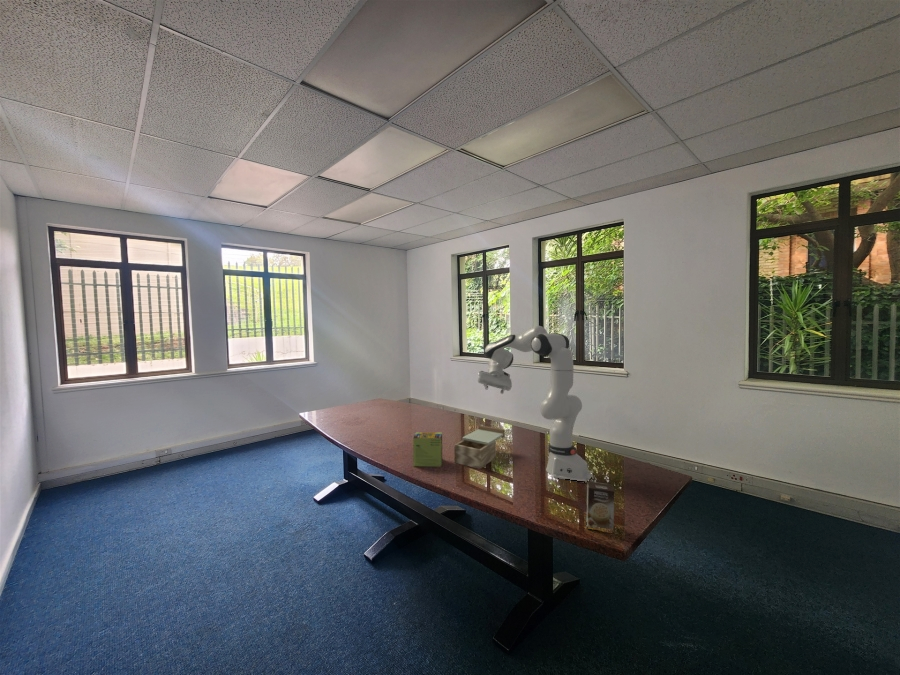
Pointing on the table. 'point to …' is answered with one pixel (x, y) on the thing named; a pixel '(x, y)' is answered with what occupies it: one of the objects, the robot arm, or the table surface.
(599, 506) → the coffee box
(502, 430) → the lid
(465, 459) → the crate
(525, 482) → the table surface
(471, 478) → the table surface
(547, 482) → the table surface
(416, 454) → the protein box
